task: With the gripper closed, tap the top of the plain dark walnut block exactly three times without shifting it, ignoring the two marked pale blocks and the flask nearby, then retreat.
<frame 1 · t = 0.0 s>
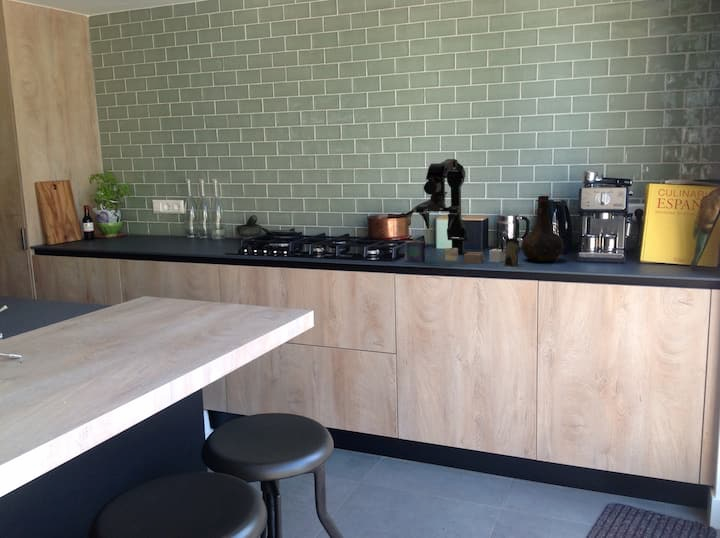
hand: (438, 229, 289), 15 cm above the table, fingers open, 9 cm apart
grey block marked: (497, 261, 292), on the table
mug: (509, 265, 282), on the table
walnut block: (473, 262, 292), on the table
brown bottle vase: (542, 260, 291), on the table
beech block marked: (451, 259, 299), on the table
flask: (415, 262, 297), on the table
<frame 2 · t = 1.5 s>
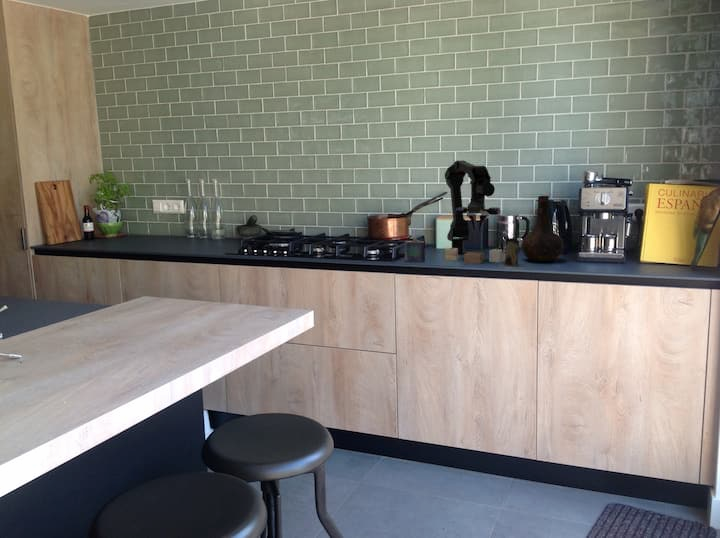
hand: (477, 230, 295), 13 cm above the table, fingers closed
nothing on the table moved.
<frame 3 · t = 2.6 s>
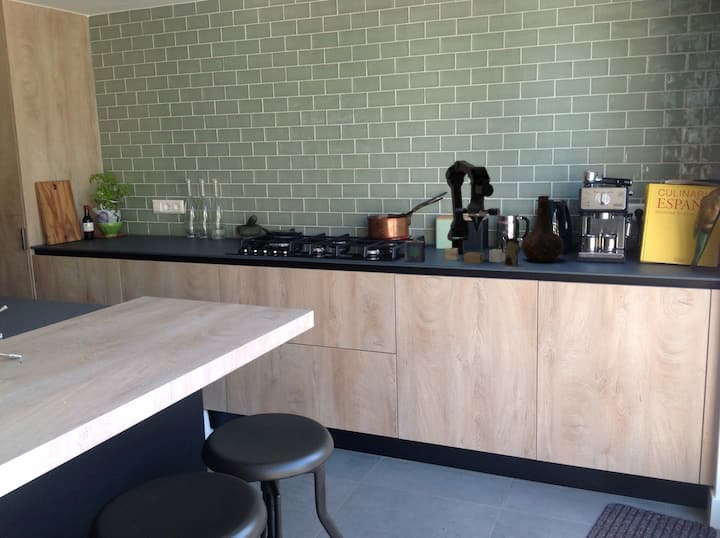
hand: (477, 231, 294), 13 cm above the table, fingers closed
nothing on the table moved.
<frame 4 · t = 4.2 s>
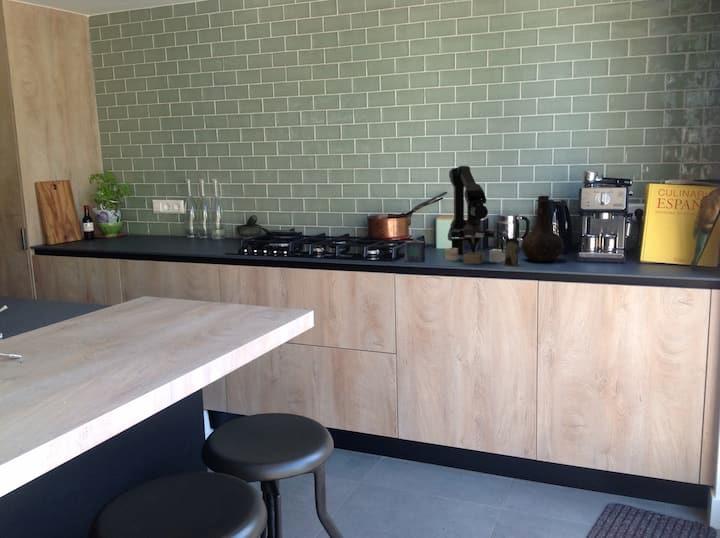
hand: (473, 252, 291), 4 cm above the table, fingers closed
nothing on the table moved.
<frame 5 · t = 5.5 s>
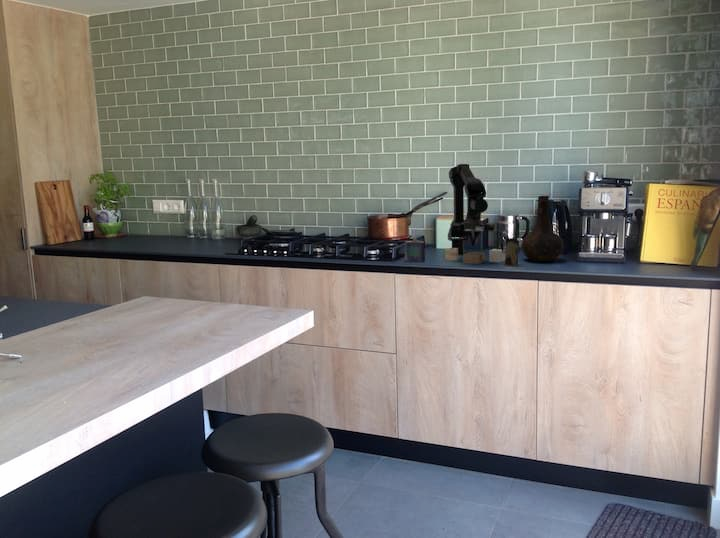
hand: (473, 246, 290), 7 cm above the table, fingers closed
nothing on the table moved.
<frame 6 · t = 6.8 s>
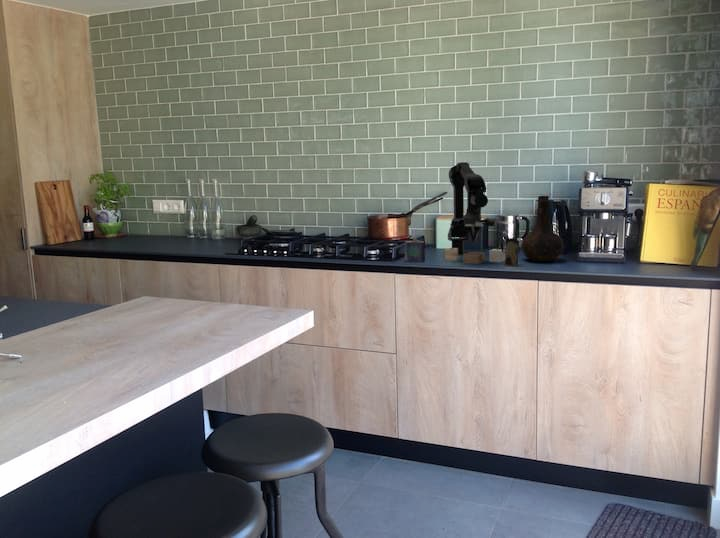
hand: (474, 241, 290), 9 cm above the table, fingers closed
nothing on the table moved.
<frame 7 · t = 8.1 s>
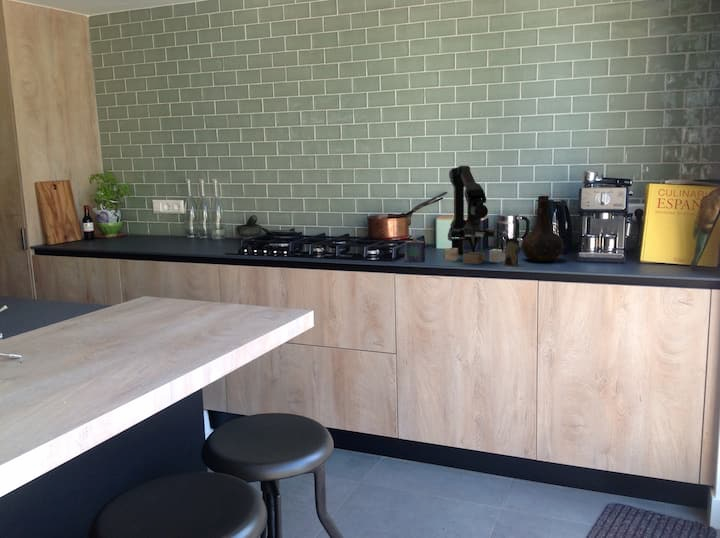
hand: (473, 251, 291), 4 cm above the table, fingers closed
nothing on the table moved.
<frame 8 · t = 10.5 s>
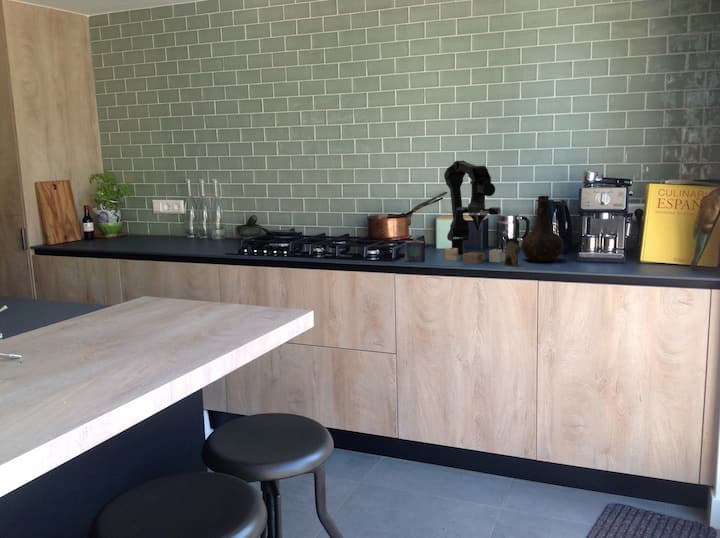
hand: (478, 230, 295), 13 cm above the table, fingers closed
nothing on the table moved.
at the end: walnut block moved 0.3 cm from its start; walnut block tilted 0°; walnut block inside the target area (0.0 cm from its centre), on the table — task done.
